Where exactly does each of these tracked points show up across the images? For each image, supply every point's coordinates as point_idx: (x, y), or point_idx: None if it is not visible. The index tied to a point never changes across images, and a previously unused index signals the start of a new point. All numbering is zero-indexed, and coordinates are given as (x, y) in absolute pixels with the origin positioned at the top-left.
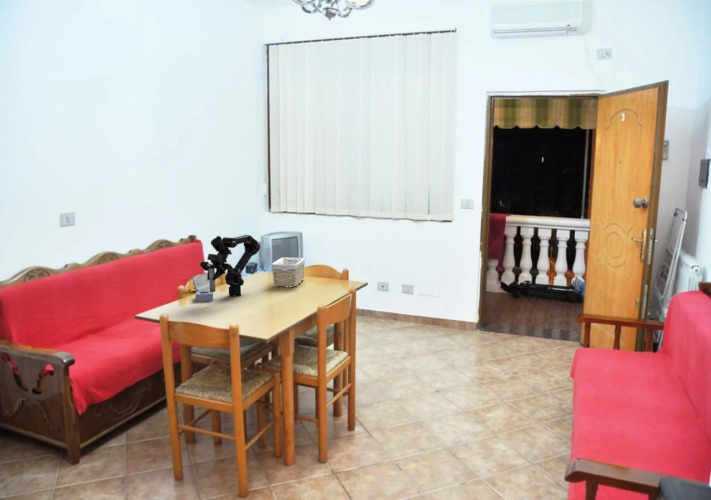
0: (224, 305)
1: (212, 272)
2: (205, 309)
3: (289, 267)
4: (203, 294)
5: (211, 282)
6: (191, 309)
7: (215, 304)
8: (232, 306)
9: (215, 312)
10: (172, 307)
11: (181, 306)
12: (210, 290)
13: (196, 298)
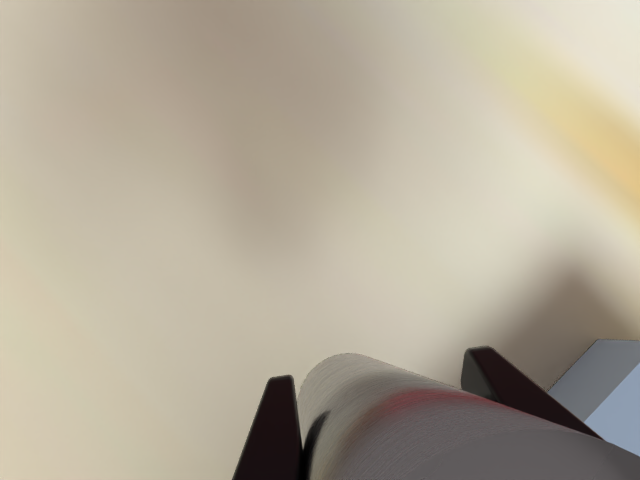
0: (140, 401)
1: (330, 474)
2: (221, 136)
3: None
4: None
5: (340, 377)
6: (365, 59)
7: None
8: (6, 419)
9: (18, 97)
10: (615, 19)
11: (567, 97)
12: (353, 354)
13: (616, 347)
